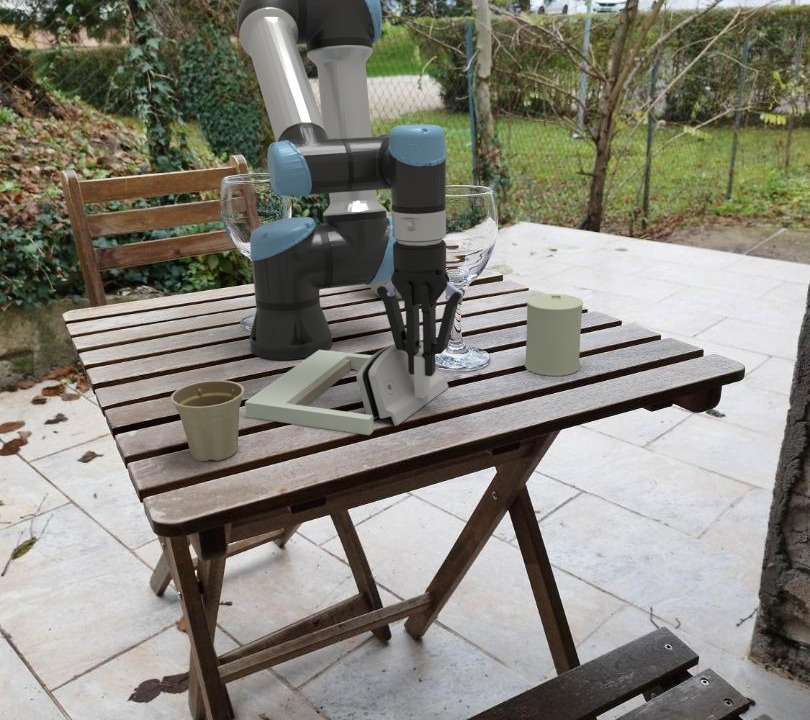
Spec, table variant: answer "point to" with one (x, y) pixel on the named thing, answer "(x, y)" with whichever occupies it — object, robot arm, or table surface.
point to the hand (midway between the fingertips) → (422, 394)
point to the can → (553, 334)
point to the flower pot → (210, 417)
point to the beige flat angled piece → (310, 394)
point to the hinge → (393, 385)
